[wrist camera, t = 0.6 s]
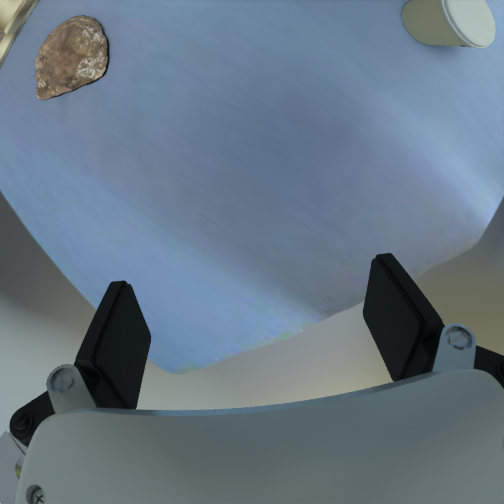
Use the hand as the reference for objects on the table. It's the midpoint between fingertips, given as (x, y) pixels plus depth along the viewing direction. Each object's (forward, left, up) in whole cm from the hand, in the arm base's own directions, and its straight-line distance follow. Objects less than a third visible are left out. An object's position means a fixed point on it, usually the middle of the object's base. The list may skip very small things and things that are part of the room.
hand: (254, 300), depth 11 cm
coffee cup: (-35, +6, -30) cm, 46 cm away
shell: (+2, -28, -31) cm, 42 cm away
